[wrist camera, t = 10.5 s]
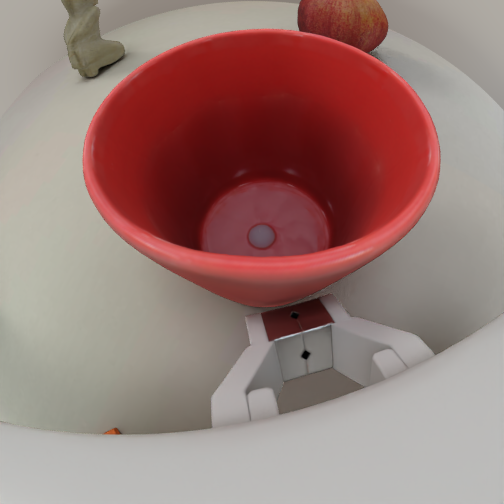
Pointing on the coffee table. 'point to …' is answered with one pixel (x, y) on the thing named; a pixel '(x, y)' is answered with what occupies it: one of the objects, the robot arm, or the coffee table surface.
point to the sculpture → (88, 38)
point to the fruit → (345, 21)
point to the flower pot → (262, 162)
